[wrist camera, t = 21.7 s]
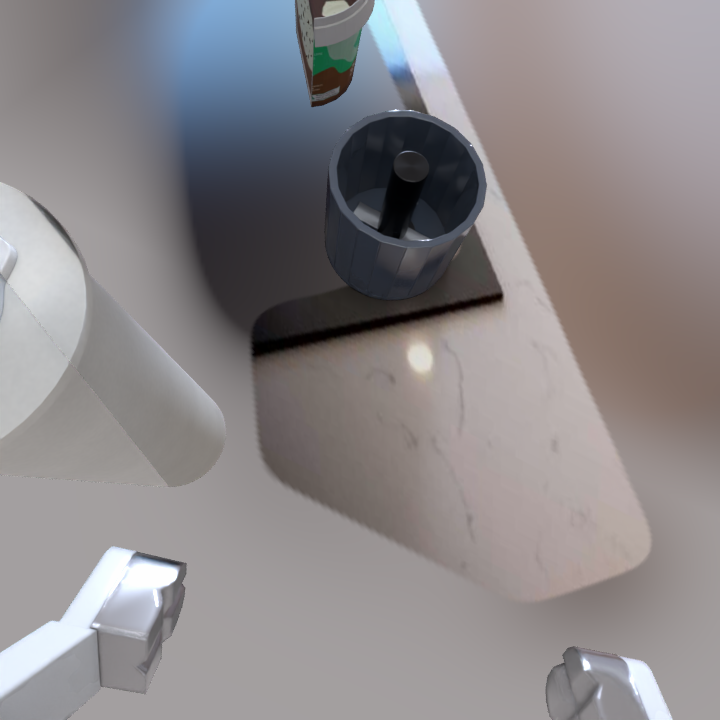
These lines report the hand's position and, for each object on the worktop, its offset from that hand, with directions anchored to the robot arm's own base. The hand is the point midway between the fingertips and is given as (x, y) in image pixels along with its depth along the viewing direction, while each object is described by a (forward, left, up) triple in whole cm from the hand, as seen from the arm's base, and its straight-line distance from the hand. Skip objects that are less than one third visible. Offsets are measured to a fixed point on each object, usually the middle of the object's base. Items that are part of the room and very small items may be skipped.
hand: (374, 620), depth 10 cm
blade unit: (-15, +20, -28) cm, 38 cm away
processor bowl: (-15, +20, -28) cm, 38 cm away
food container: (-33, +29, -28) cm, 53 cm away
